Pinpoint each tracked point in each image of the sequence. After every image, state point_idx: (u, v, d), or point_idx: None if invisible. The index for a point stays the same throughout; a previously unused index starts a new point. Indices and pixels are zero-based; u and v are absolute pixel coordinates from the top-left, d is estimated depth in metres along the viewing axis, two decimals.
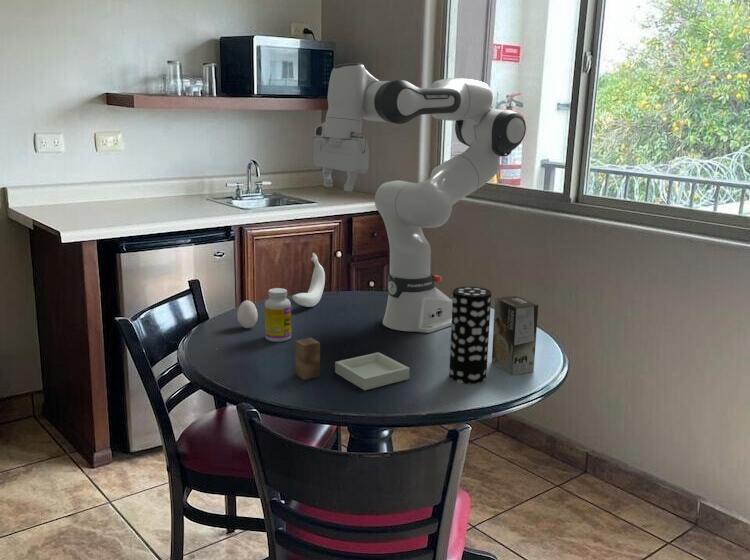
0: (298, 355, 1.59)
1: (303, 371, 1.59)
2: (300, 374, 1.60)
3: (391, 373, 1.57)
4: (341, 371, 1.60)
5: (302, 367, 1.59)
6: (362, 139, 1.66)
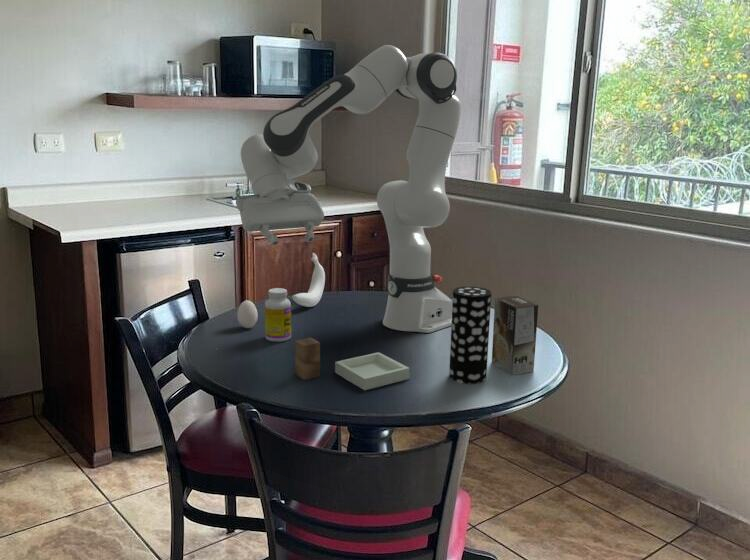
0: (298, 355, 1.59)
1: (303, 371, 1.59)
2: (300, 374, 1.60)
3: (391, 373, 1.57)
4: (341, 371, 1.60)
5: (302, 367, 1.59)
6: None
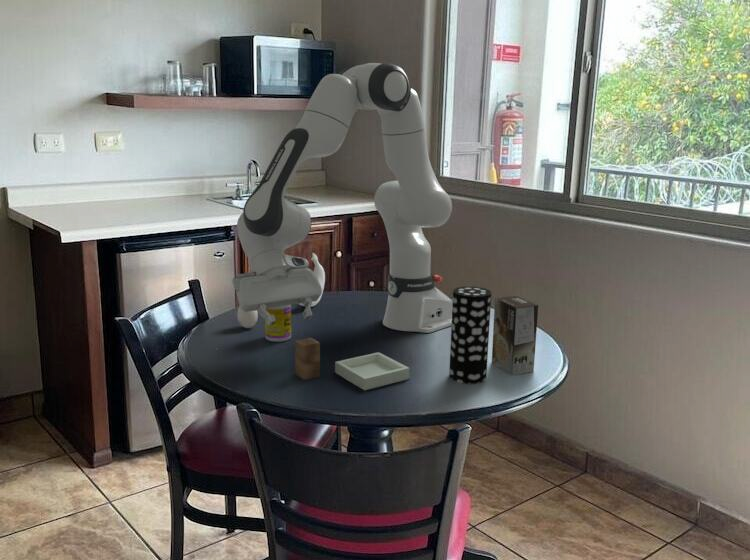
0: (298, 355, 1.59)
1: (303, 371, 1.59)
2: (300, 374, 1.60)
3: (391, 373, 1.57)
4: (341, 371, 1.60)
5: (302, 367, 1.59)
6: None
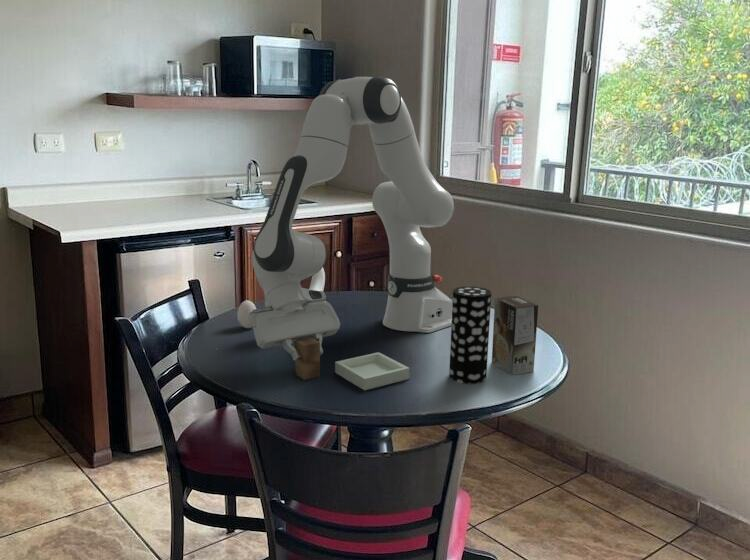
0: None
1: (303, 371, 1.59)
2: (300, 374, 1.60)
3: (391, 373, 1.57)
4: (341, 371, 1.60)
5: (302, 367, 1.59)
6: None
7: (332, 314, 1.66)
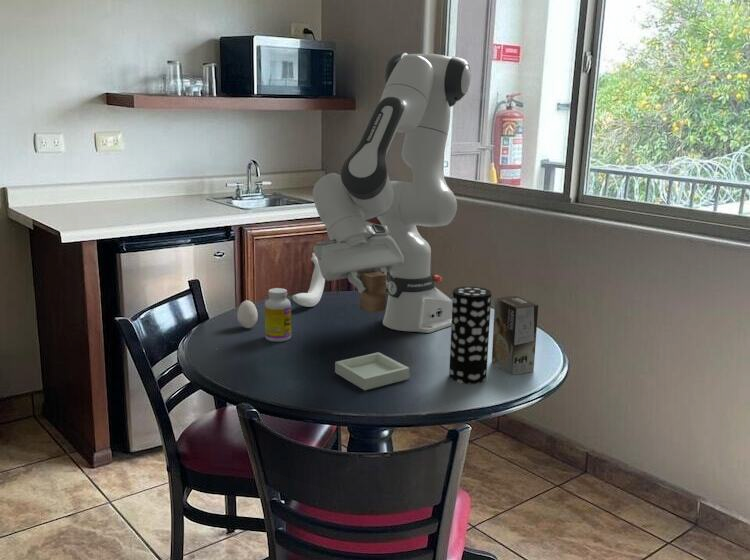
0: None
1: (369, 304, 1.55)
2: (366, 307, 1.56)
3: (391, 373, 1.57)
4: (341, 371, 1.60)
5: (368, 300, 1.55)
6: None
7: (396, 249, 1.63)
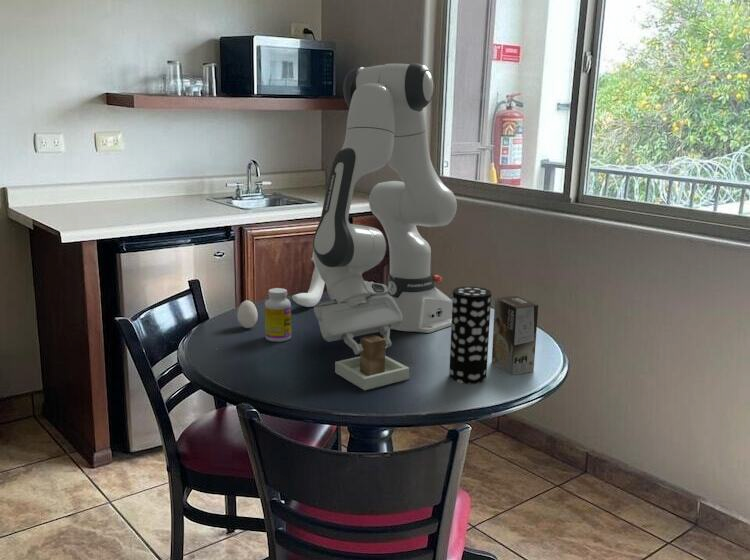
0: (363, 352, 1.60)
1: (369, 368, 1.59)
2: (365, 371, 1.60)
3: (391, 373, 1.57)
4: (341, 371, 1.60)
5: (368, 365, 1.59)
6: None
7: (394, 307, 1.66)
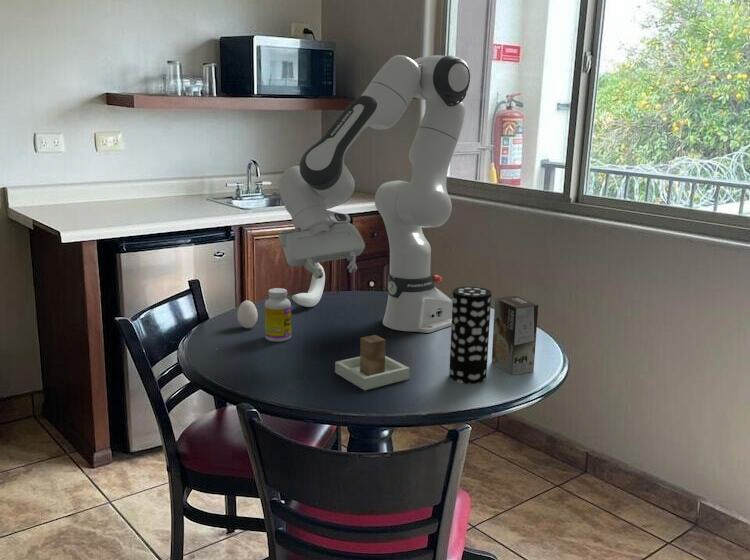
0: (363, 352, 1.60)
1: (369, 368, 1.59)
2: (365, 371, 1.60)
3: (391, 373, 1.57)
4: (341, 371, 1.60)
5: (368, 365, 1.59)
6: None
7: (357, 235, 1.74)
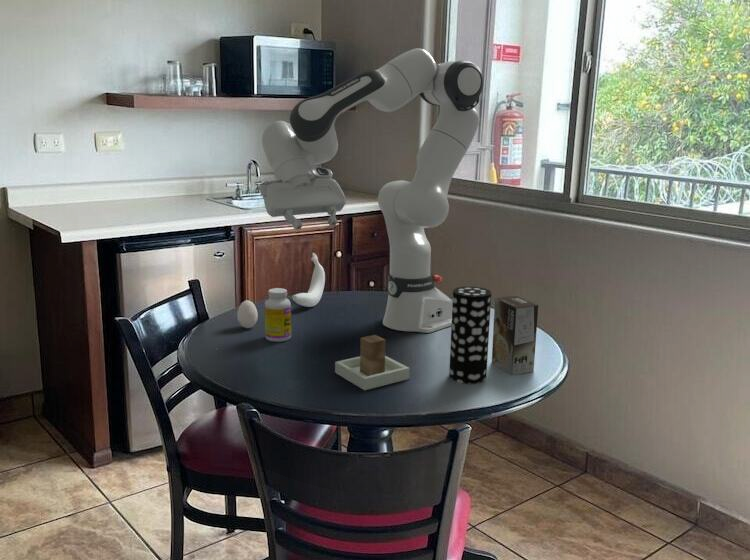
0: (363, 352, 1.60)
1: (369, 368, 1.59)
2: (365, 371, 1.60)
3: (391, 373, 1.57)
4: (341, 371, 1.60)
5: (368, 365, 1.59)
6: None
7: (338, 190, 1.74)
